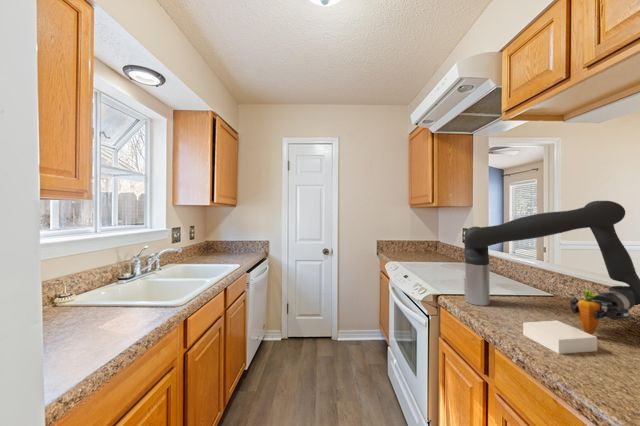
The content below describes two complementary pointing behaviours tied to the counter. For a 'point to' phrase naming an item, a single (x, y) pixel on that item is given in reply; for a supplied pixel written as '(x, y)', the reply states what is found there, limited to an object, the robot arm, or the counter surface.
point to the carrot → (588, 312)
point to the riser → (560, 337)
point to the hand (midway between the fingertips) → (584, 312)
